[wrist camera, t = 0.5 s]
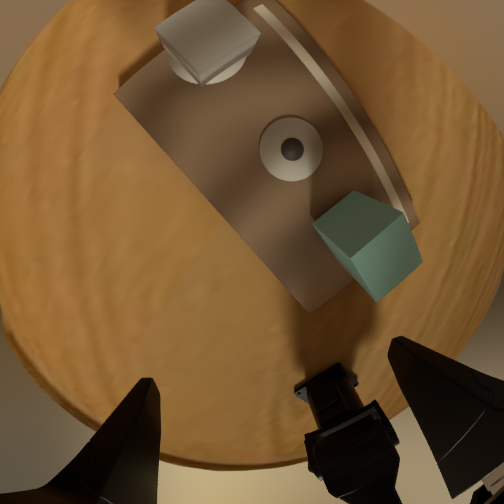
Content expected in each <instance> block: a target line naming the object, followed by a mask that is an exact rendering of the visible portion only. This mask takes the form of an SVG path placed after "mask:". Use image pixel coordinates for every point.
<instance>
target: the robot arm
mask: <svg viewBox="0 0 504 504" xmlns="http://www.w3.org/2000/svg"><path fill="white" fill-rule="evenodd" d="M388 360H389V362H390V364H391V367H392V369H393V372H394V374H395V377H396V379H397V382H398V384H399V386H400V389H401V391H402V393H403V395H404V396H405V398H406V400H407V402H408V404H409V406H410V408H411V410H412V412H413V414H414V416H415V418H416V420H417V422H418V424H419V426H420V428H421V430H422V432H423V434H424V436H425V438H426V440H427V443H428V445H429V447H430V449H431V451H432V453H433V456H434V458H435V460H436V462H437V465H438V467H439V469H440V472H441V474H442V476H443V479H444V481H445V483H446V486H447V488H448V491H449V493H450V496H451V498H452V499H453V498H455V497H457V496H458V495H460V494H462V493H463V492H465V491H466V490H468V489H469V488H471V487H472V486H474V485H475V484H476V483H478V482H479V481H480V480H482V482H483V483H484V484H483V485H481V486H480V487H479V488H478V489H477V490H476V491H474V492H473V495H472V499H471V502H470V504H504V381H503V380H500V379H497V378H494V377H491V376H489V375H486V374H484V373H482V372H479V371H477V370H475V369H472V368H470V367H468V366H466V365H464V364H462V363H459V362H457V361H455V360H453V359H451V358H449V357H446V356H444V355H442V354H440V353H438V352H436V351H433V350H431V349H429V348H427V347H425V346H423V345H421V344H418V343H416V342H414V341H412V340H410V339H408V338H406V337H404V336H398V337H395V338H393V339H392V341H391V344H390V347H389V350H388ZM358 384H359V383H358V381H357V380H356V379H355V378H354V377H353V376H352V375H351V374H350V373H349V372H348V370H347V369H346V368H345V367H344V366H343V365H342V364H341V363H337V364H335V365H334V366H332V367H331V368H329V369H328V370H326V371H325V372H323V373H322V374H320V375H319V376H317V377H315V378H314V379H312V380H311V381H309V382H307V383H306V384H304V385H303V386H301V387H299V388H298V389H296V390H295V391H294V393H295V395H296V396H297V397H299V398H300V399H302V400H304V401H305V402H307V403H308V404H309V405H310V408H311V410H312V413H313V416H314V418H315V421H316V424H317V427H318V430H316V431H313V432H311V433H307V434H304V435H305V441H304V443H305V446H306V451H307V456H308V470H309V471H310V472H312V473H314V474H315V475H316V477H317V478H318V479H319V480H320V481H322V480H323V481H324V483H325V485H326V487H327V489H328V492H329V493H330V494H331V495H333V496H334V497H336V498H340V499H341V500H343V501H345V502H347V503H348V504H402V502H401V500H400V498H399V496H398V494H397V491H396V489H395V484H396V479H397V474H398V468H399V462H400V457H399V455H398V452H397V450H396V448H395V446H396V445H398V444H399V439H398V437H397V435H396V433H395V430H394V428H393V427H392V425H391V423H390V421H389V420H388V418H387V417H386V415H385V413H384V412H383V410H382V409H381V407H380V406H379V404H378V402H377V401H376V399H375V400H374V401H372V402H371V403H370V404H368V405H366V406H364V405H363V403H362V401H361V399H360V397H359V396H358V394H357V392H356V390H355V387H356V386H358ZM160 440H161V411H160V393H159V390H158V388H157V386H156V384H155V382H154V380H153V378H141V379H140V380H139V381H138V382H137V383H136V385H135V386H134V387H133V388H132V389H131V391H130V392H129V393H128V394H127V396H126V397H125V398H124V399H123V400H122V402H121V403H120V404H119V405H118V406H117V408H116V409H115V410H114V411H113V412H112V414H111V415H110V416H109V417H108V418H107V420H106V421H105V422H104V423H103V425H102V426H101V427H100V428H99V429H98V431H97V432H96V433H95V434H94V436H93V437H92V438H91V439H90V442H88V443H87V444H86V445H85V446H84V447H83V449H82V450H81V451H80V452H79V453H78V454H77V455H76V457H75V458H74V459H73V460H72V461H71V462H70V463H69V464H68V465H67V466H66V467H65V468H64V469H62V470H61V471H60V472H59V473H58V474H57V475H56V476H55V477H54V478H53V479H52V480H51V481H49V482H48V483H47V484H46V485H44V486H42V487H40V488H37V489H32V490H26V491H19V492H11V493H2V494H0V504H157V485H158V466H159V453H160Z"/></svg>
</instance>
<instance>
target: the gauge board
mask: <svg viewBox="0 0 504 504" xmlns="http://www.w3.org/2000/svg"><path fill="white" fill-rule="evenodd" d="M154 29H155V31H156V33H157V35H158V37H159V39H160V41H161V43H162V45H163V47H164V48H165V50H164V51H162V52H161V53H160V54H158V55H157V56H156V57H155V58H153V59H152V60H151V61H150V62H148V63H147V64H146V65H145V66H143V67H142V68H141V69H140V70H139V71H138V72H136V73H135V74H134V75H133V76H132V77H131V78H130V79H129V80H127V81H126V82H125V83H124V84H123V85H122V86H121V87H120V88H119V89H118V90H117V91H116V92H115V93H114V95H115V97H116V98H117V99H118V100H119V101H120V102H121V103H122V104H123V106H124V107H125V108H126V109H127V110H128V111H129V112H130V113H131V114H132V116H133V117H134V118H135V119H136V120H137V121H138V122H139V123H140V124H141V126H142V127H143V128H144V129H145V130H146V131H147V132H148V133H149V135H150V136H151V137H152V138H153V139H154V140H155V141H156V142H157V143H158V145H159V146H160V147H161V148H162V149H163V150H164V151H165V152H166V154H167V155H168V156H169V157H170V158H171V159H172V160H173V161H174V163H175V164H176V165H177V166H178V167H179V168H180V169H181V170H182V171H183V173H184V174H185V175H186V176H187V177H188V178H189V179H190V180H191V182H192V183H193V184H194V185H195V186H196V187H197V188H198V189H199V191H200V192H201V193H202V194H203V195H204V196H205V197H206V198H207V199H208V201H209V202H210V203H211V204H212V205H213V206H214V207H215V208H216V210H217V211H218V212H219V213H220V214H221V215H222V216H223V217H224V219H225V220H226V221H227V222H228V223H229V224H230V225H231V226H232V228H233V229H234V230H235V231H236V232H237V233H238V234H239V235H240V237H241V238H242V239H243V240H244V241H245V242H246V243H247V244H248V246H249V247H250V248H251V249H252V250H253V251H254V252H255V253H256V254H257V256H258V257H259V258H260V259H261V260H262V261H263V262H264V263H265V265H266V266H267V267H268V268H269V269H270V270H271V271H272V272H273V274H274V275H275V276H276V277H277V278H278V279H279V280H280V281H281V283H282V284H283V285H284V286H285V287H286V288H287V289H288V290H289V292H290V293H291V294H292V295H293V296H294V297H295V298H296V300H297V301H298V302H299V303H300V304H301V305H302V306H303V307H304V309H305V310H306V311H307V312H308V313H309V314H311V313H312V312H314V311H315V310H316V309H318V308H319V307H320V306H322V305H323V304H324V303H326V302H327V301H328V300H330V299H331V298H332V297H333V296H335V295H336V294H337V293H339V292H340V291H341V290H342V289H344V288H345V287H346V286H347V285H349V284H350V283H351V282H352V281H354V280H355V279H354V278H353V277H352V276H351V275H350V273H349V272H348V271H347V270H346V269H345V268H344V267H343V266H342V265H341V264H340V263H339V262H338V261H337V259H336V258H335V256H334V255H333V253H332V252H331V250H330V249H329V247H328V246H327V244H326V243H325V242H324V240H323V239H322V237H321V236H320V234H319V233H318V232H317V230H316V229H315V227H314V226H313V224H312V223H313V222H315V221H316V220H317V219H318V218H320V217H321V216H322V215H323V214H325V213H326V212H327V211H328V210H330V209H331V208H332V207H333V206H335V205H336V204H337V203H338V202H340V201H341V200H342V199H343V198H345V197H346V196H347V195H348V194H349V193H351V192H352V191H353V190H354V191H357V192H359V193H361V194H364V195H366V196H368V197H371V198H373V199H375V200H378V201H380V202H382V203H384V204H386V205H389V206H391V207H393V208H395V209H397V210H399V211H402V212H404V215H405V217H406V219H407V222H408V224H409V226H410V229H411V231H412V230H413V229H414V228H415V227H416V226H417V225H418V224H419V223H420V222H419V220H418V217H417V215H416V212H415V210H414V207H413V205H412V202H411V200H410V198H409V195H408V193H407V191H406V188H405V186H404V184H403V182H402V180H401V177H400V175H399V173H398V171H397V169H396V167H395V165H394V163H393V161H392V159H391V157H390V155H389V153H388V151H387V149H386V147H385V146H384V144H383V142H382V140H381V138H380V136H379V135H378V133H377V131H376V129H375V128H374V126H373V124H372V123H371V121H370V119H369V118H368V116H367V114H366V113H365V111H364V109H363V108H362V106H361V105H360V103H359V102H358V100H357V98H356V97H355V95H354V94H353V92H352V91H351V90H350V88H349V87H348V85H347V84H346V82H345V81H344V79H343V78H342V77H341V75H340V74H339V73H338V71H337V70H336V68H335V67H334V66H333V64H332V63H331V62H330V61H329V59H328V58H327V57H326V55H325V54H324V53H323V52H322V50H321V49H320V48H319V47H318V46H317V44H316V43H315V42H314V41H313V40H312V38H311V37H310V36H309V35H308V34H307V33H306V32H305V30H304V29H303V28H302V27H301V26H300V25H299V24H298V23H297V22H296V21H295V20H294V18H293V17H292V16H291V15H290V14H289V13H288V12H287V11H286V10H285V9H284V8H283V7H282V6H281V5H280V4H279V3H278V2H277V1H276V0H244V1H242V2H240V3H238V4H236V5H234V6H233V5H232V4H231V3H230V2H228V1H227V0H195V1H194V2H192V3H190V4H189V5H187V6H185V7H184V8H182V9H181V10H179V11H177V12H176V13H174V14H173V15H171V16H170V17H168V18H167V19H165V20H164V21H162V22H161V23H160V24H158V25H157V26H155V27H154Z"/></svg>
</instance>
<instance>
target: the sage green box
mask: <svg viewBox="0 0 504 504" xmlns="http://www.w3.org/2000/svg"><path fill="white" fill-rule="evenodd" d="M312 224H313V226H314V227H315V229H316V230H317V232H318V233H319V234H320V236H321V237H322V239H323V240H324V242H325V243H326V244H327V246H328V247H329V249H330V250H331V252H332V253H333V255H334V256H335V258H336V259H337V261H338V262H339V263H340V264H341V265H342V266H343V267H344V268H345V269H346V270H347V271H348V272H349V273H350V275H351V276H352V277H353V278H354V279H355V280H356V281H357V282H358V283H359V284H360V285H361V286H362V287H363V288H364V289H365V291H366V292H367V293H368V294H369V295H370V296H371V297H372V298H373V299H374V300H375V301H376V303H377V302H378V301H379V300H381V299H382V298H383V297H384V296H385V295H387V294H388V293H389V292H390V291H391V290H392V289H394V288H395V287H396V286H397V285H398V284H399V283H400V282H401V281H403V280H404V279H405V278H406V277H407V276H408V275H409V274H410V273H411V272H413V271H414V270H415V269H416V268H417V267H418V266H419V265H420V264H421V263H422V262H423V261H422V258H421V255H420V252H419V250H418V247H417V244H416V242H415V239H414V236H413V234H412V231H411V229H410V226H409V224H408V222H407V219H406V217H405V215H404V212H402V211H399V210H397V209H395V208H393V207H391V206H389V205H386V204H384V203H382V202H380V201H378V200H375V199H373V198H371V197H368V196H366V195H364V194H361V193H359V192H357V191H354V190H353V191H352V192H351V193H349V194H348V195H347V196H346V197H345V198H343V199H342V200H341V201H340V202H338V203H337V204H336V205H335V206H333V207H332V208H331V209H330V210H328V211H327V212H326V213H325V214H323V215H322V216H321V217H320V218H318V219H317V220H316V221H315V222H313V223H312Z"/></svg>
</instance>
